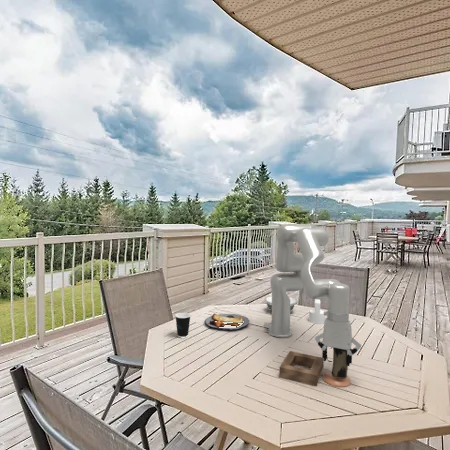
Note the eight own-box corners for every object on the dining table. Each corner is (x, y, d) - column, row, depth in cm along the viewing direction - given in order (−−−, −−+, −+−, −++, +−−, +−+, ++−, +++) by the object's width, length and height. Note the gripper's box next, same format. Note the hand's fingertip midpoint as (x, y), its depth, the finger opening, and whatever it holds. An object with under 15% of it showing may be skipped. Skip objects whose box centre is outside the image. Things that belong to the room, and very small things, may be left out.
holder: (279, 377, 123) (279, 367, 123) (289, 360, 137) (289, 351, 137) (316, 386, 117) (316, 375, 116) (323, 367, 131) (323, 357, 131)
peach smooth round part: (320, 383, 119) (320, 381, 119) (324, 371, 128) (324, 369, 128) (349, 389, 115) (349, 388, 115) (351, 377, 124) (351, 375, 124)
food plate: (198, 328, 173) (198, 322, 173) (212, 315, 196) (212, 310, 196) (243, 334, 166) (243, 327, 166) (252, 320, 188) (253, 314, 188)
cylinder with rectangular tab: (325, 325, 181) (325, 304, 181) (308, 323, 184) (309, 302, 183) (325, 320, 190) (325, 300, 189) (309, 318, 192) (309, 298, 192)
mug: (345, 372, 124) (346, 341, 123) (349, 379, 118) (350, 347, 118) (324, 370, 124) (324, 340, 124) (327, 378, 119) (328, 346, 118)
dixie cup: (190, 333, 166) (191, 312, 166) (190, 339, 158) (190, 317, 158) (175, 333, 165) (175, 312, 165) (174, 339, 157) (174, 317, 157)
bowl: (277, 318, 191) (277, 305, 190) (259, 310, 207) (260, 297, 207) (301, 314, 199) (301, 301, 199) (283, 306, 216) (283, 294, 216)
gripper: (312, 315, 121) (311, 361, 122) (362, 323, 113) (361, 372, 114) (316, 310, 128) (315, 353, 128) (363, 317, 120) (362, 363, 121)
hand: (336, 362), depth 121 cm, fingers closed on mug, 7 cm apart
